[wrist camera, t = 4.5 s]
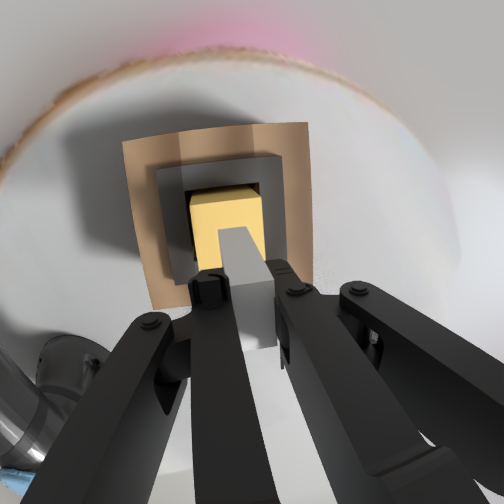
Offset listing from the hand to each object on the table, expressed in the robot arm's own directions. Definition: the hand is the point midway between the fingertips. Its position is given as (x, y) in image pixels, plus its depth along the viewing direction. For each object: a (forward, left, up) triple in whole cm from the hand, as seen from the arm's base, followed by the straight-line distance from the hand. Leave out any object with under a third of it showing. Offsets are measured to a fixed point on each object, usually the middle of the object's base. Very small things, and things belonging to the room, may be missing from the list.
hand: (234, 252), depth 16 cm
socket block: (0, 0, -17) cm, 17 cm away
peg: (0, 0, -12) cm, 12 cm away
